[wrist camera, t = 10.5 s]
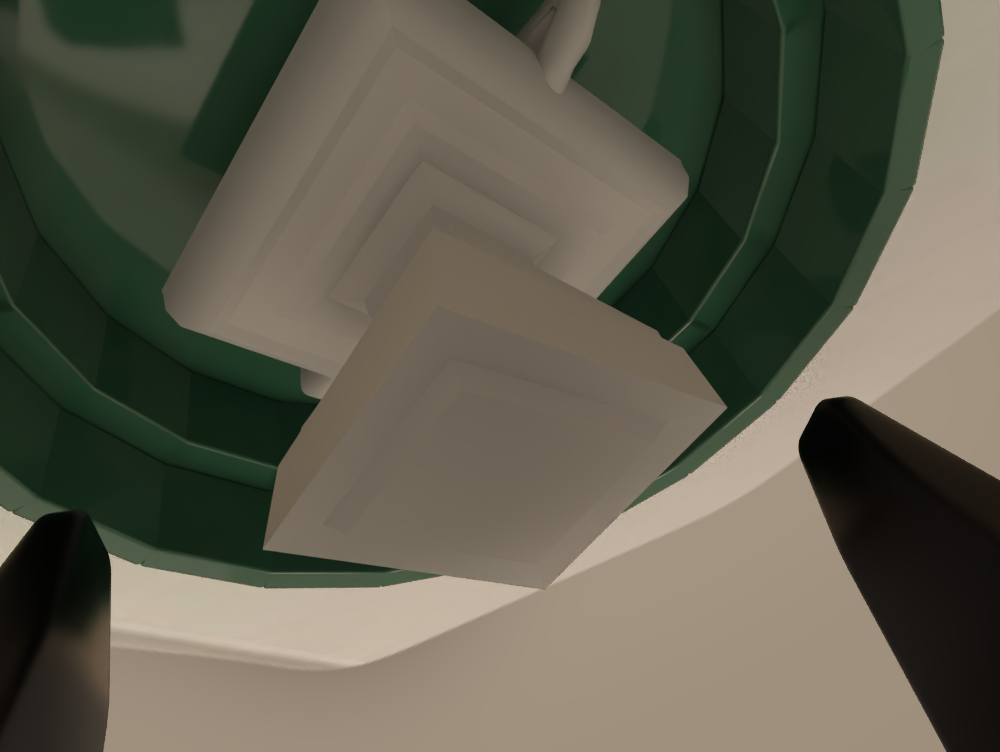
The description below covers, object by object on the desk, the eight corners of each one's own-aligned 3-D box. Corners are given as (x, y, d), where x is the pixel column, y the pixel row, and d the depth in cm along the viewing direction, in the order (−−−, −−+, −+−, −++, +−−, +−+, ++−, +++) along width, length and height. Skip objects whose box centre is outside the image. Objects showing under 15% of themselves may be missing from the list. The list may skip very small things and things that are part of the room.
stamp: (423, 365, 18) (512, 694, 13) (145, 263, 15) (86, 663, 9) (672, 49, 14) (972, 314, 9) (379, -201, 11) (551, -32, 5)
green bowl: (908, -375, 11) (1205, -389, 8) (669, 386, 22) (750, 520, 19) (-403, -553, 8) (-929, -729, 4) (80, 465, 19) (45, 650, 15)
